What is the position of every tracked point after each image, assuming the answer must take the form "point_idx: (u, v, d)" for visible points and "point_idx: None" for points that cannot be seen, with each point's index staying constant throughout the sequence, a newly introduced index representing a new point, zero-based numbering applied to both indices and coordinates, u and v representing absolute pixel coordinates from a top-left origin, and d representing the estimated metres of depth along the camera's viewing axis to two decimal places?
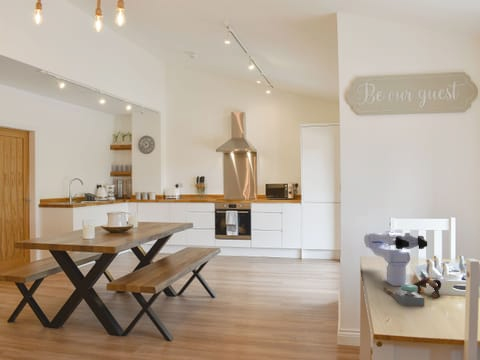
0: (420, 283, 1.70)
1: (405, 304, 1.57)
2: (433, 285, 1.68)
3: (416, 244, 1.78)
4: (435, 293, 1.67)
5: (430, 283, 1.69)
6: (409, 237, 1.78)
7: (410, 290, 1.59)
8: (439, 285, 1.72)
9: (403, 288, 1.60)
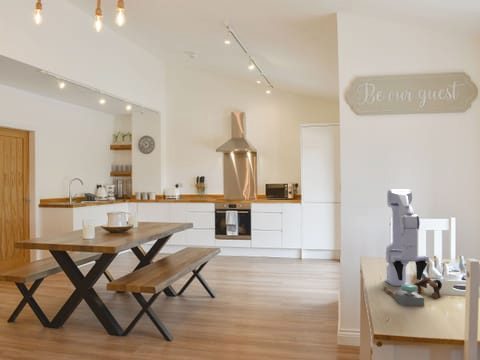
0: (421, 283, 1.69)
1: (405, 304, 1.57)
2: (434, 285, 1.68)
3: None
4: (436, 293, 1.67)
5: (431, 283, 1.68)
6: None
7: (410, 290, 1.59)
8: (440, 285, 1.72)
9: (403, 288, 1.60)
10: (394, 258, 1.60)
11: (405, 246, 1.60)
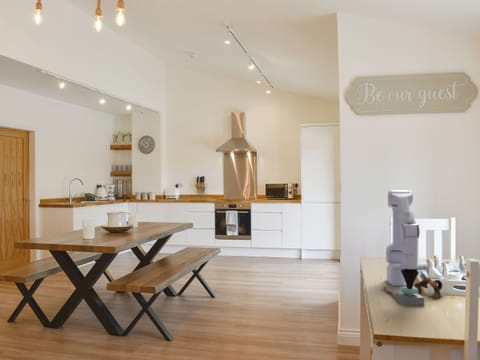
0: (421, 284, 1.69)
1: (405, 304, 1.57)
2: (434, 286, 1.67)
3: None
4: (436, 294, 1.66)
5: (431, 284, 1.68)
6: None
7: (410, 292, 1.59)
8: (440, 286, 1.72)
9: (403, 290, 1.60)
10: (394, 267, 1.60)
11: (405, 255, 1.60)
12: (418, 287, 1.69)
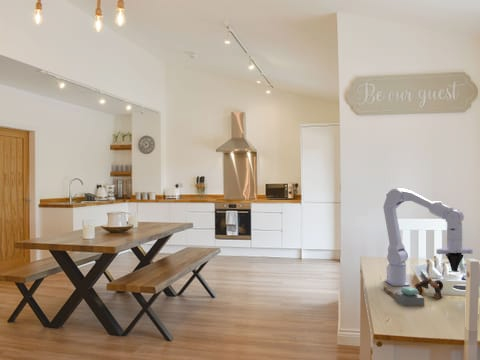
0: (422, 284, 1.68)
1: (405, 304, 1.57)
2: (435, 286, 1.67)
3: None
4: (437, 294, 1.66)
5: (432, 284, 1.67)
6: None
7: (410, 293, 1.59)
8: (441, 286, 1.71)
9: (403, 291, 1.60)
10: (440, 250, 1.71)
11: (451, 239, 1.71)
12: (419, 287, 1.69)
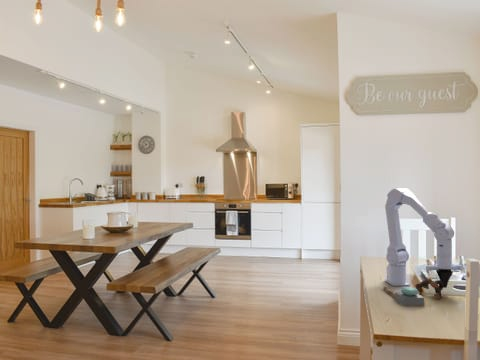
0: (422, 284, 1.67)
1: (405, 304, 1.57)
2: (435, 286, 1.66)
3: None
4: (437, 294, 1.65)
5: (432, 284, 1.66)
6: None
7: (410, 293, 1.59)
8: (441, 286, 1.70)
9: (403, 291, 1.60)
10: (430, 267, 1.71)
11: (440, 256, 1.70)
12: (419, 288, 1.68)
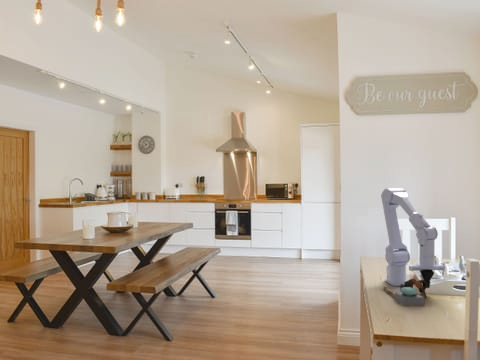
0: (407, 285, 1.67)
1: (405, 304, 1.57)
2: (420, 286, 1.66)
3: None
4: (422, 294, 1.65)
5: (417, 284, 1.66)
6: None
7: (410, 293, 1.59)
8: (425, 285, 1.70)
9: (403, 291, 1.60)
10: (412, 267, 1.71)
11: (423, 256, 1.70)
12: None
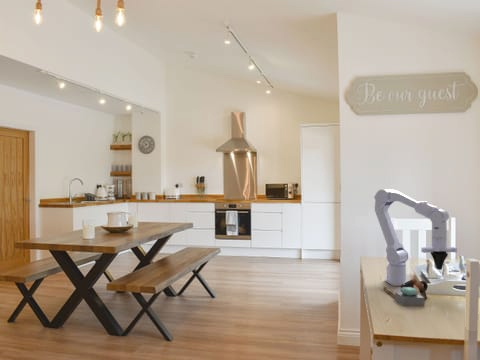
0: (408, 285, 1.67)
1: (405, 304, 1.57)
2: (421, 287, 1.66)
3: None
4: (423, 295, 1.65)
5: (418, 285, 1.66)
6: None
7: (410, 293, 1.59)
8: (425, 286, 1.70)
9: (403, 291, 1.60)
10: (425, 249, 1.74)
11: (435, 238, 1.73)
12: None
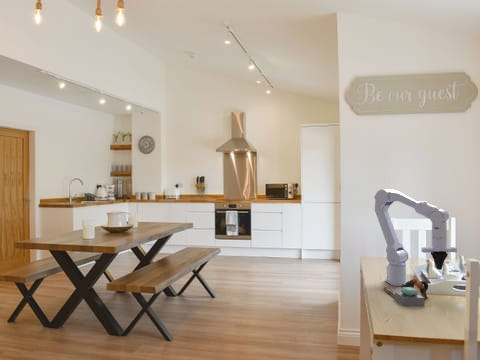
0: (408, 285, 1.67)
1: (405, 304, 1.57)
2: (421, 287, 1.66)
3: None
4: (423, 295, 1.65)
5: (418, 285, 1.66)
6: None
7: (410, 293, 1.59)
8: (426, 287, 1.70)
9: (403, 291, 1.60)
10: (425, 249, 1.74)
11: (435, 238, 1.73)
12: None
